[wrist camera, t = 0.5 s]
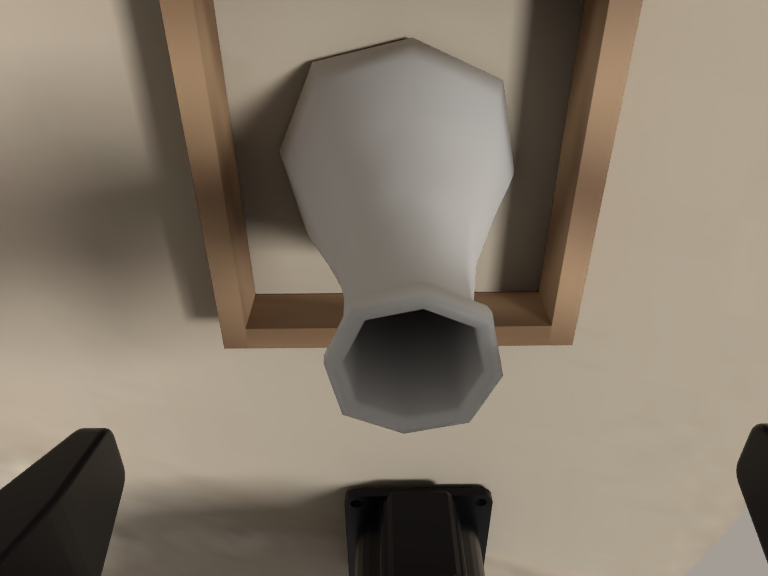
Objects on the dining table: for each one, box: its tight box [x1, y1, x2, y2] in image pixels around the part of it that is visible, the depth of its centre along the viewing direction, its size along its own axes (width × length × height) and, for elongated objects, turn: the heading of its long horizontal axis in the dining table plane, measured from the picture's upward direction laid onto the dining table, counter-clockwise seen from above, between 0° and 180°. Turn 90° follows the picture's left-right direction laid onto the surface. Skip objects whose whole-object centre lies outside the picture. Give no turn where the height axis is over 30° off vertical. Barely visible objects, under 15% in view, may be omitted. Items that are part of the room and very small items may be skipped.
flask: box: [279, 38, 514, 433], centre depth 15 cm, size 7×7×10 cm
